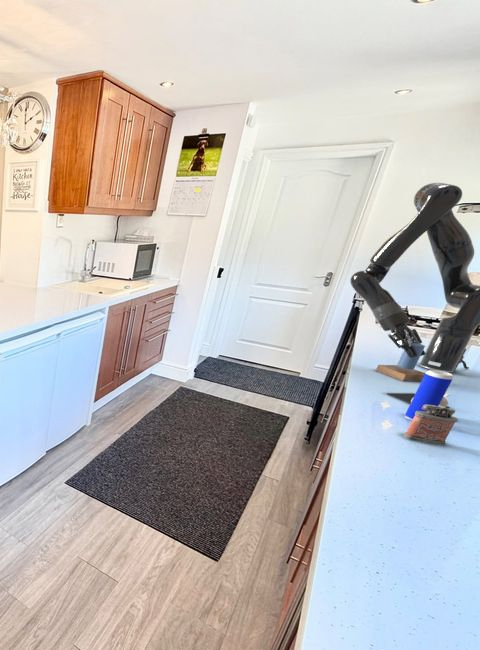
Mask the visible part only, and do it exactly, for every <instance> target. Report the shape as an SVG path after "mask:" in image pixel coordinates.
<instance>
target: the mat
mask: <svg viewBox="0 0 480 650" xmlns="http://www.w3.org/2000/svg"><path fill="white" fill-rule="evenodd" d="M415 394H416V393H413V392H411V393H409V392H408V393H407V392H403V393H401V392H400V393H399V392H397V393H396V392H387V394H386V395H388V396H389V397H392V398H395V399H397V400H400V401H402V402H404V403H406V404H409V405H410V404H411V400H412V398H413V397H414V396H415ZM446 408H450V406H448V405H447V406H446Z"/></svg>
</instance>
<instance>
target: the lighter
mask: <svg viewBox="0 0 480 650" xmlns="http://www.w3.org/2000/svg"><path fill="white" fill-rule="evenodd" d="M422 409H424V410H428V411H427V412H426V411H416V412H415V417H414V419H413V420H411V423H410V424H409V426H408V428H407V430H406V432H404V434H403V437H404V438H406V439H408V440H409V441H410V440H411V441H415V442H420V443H424V444H431V445H432V444H433V445H439V446H444V445H445V444H446V440H447V438H448V437H449V434H450V432H451V431H452V429H453V428H454V426H455V424H456V423H457V422H458V421H459V419H458V418H457V417H456V416H453V415H455V414H456V413H455V412H456V411H457V410H456V409H454V408H450V407H449V408H446V407H444V406H441V405H439V406H434V405H427V404H425V405H423V407H422Z"/></svg>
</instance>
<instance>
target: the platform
mask: <svg viewBox="0 0 480 650" xmlns="http://www.w3.org/2000/svg"><path fill="white" fill-rule="evenodd" d="M375 372H378V373H381V374H383V375H386V376H389V377H391V378H394V379H397V380H398V381H401V382H422V380H423V378H424V376H425V374H426V372H423V371H420V370H417V369H415V368H414V369H405V368H401V367H398V366H397V364H378V365H377V367H376V369H375Z"/></svg>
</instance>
